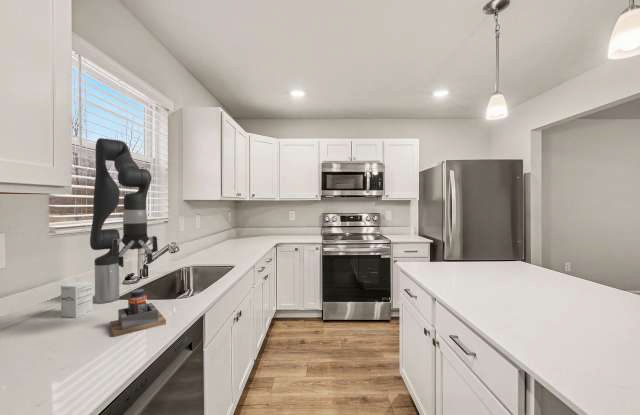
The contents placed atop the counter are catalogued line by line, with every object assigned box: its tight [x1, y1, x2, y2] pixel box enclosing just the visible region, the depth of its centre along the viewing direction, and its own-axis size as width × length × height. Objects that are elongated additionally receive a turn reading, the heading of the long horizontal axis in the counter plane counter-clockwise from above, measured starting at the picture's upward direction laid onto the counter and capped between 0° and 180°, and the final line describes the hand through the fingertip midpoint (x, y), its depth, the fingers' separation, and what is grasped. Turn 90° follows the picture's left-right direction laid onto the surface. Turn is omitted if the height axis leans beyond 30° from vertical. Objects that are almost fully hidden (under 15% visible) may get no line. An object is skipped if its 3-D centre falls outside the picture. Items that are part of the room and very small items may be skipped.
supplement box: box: [60, 280, 94, 319], centre depth 118 cm, size 7×7×13 cm
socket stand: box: [109, 302, 167, 338], centre depth 107 cm, size 12×16×6 cm
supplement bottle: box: [127, 288, 148, 316], centre depth 107 cm, size 6×6×11 cm
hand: (135, 265), depth 107 cm, fingers open, 8 cm apart
